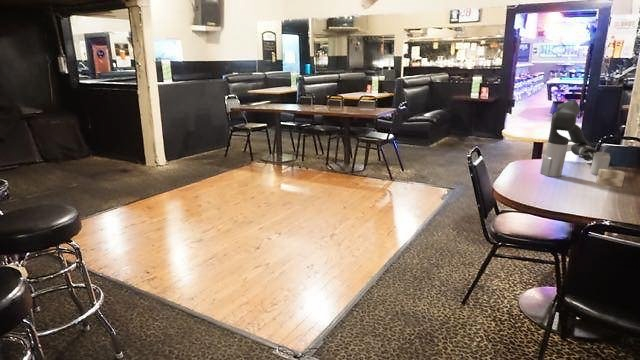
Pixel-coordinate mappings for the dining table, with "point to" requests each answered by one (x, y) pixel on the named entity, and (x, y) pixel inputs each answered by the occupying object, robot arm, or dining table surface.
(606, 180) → the block
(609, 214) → the dining table surface
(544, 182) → the dining table surface
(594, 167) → the can
